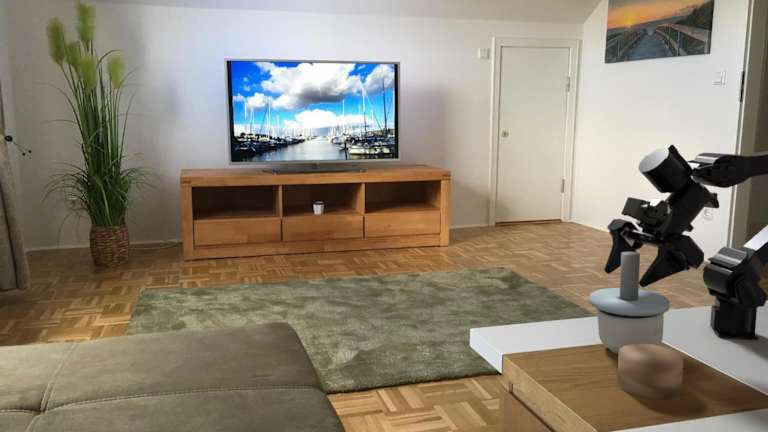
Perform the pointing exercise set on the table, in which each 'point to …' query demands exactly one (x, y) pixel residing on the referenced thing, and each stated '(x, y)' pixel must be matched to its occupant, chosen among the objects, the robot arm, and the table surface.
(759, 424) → the table surface
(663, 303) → the lid
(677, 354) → the stone
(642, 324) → the teacup
